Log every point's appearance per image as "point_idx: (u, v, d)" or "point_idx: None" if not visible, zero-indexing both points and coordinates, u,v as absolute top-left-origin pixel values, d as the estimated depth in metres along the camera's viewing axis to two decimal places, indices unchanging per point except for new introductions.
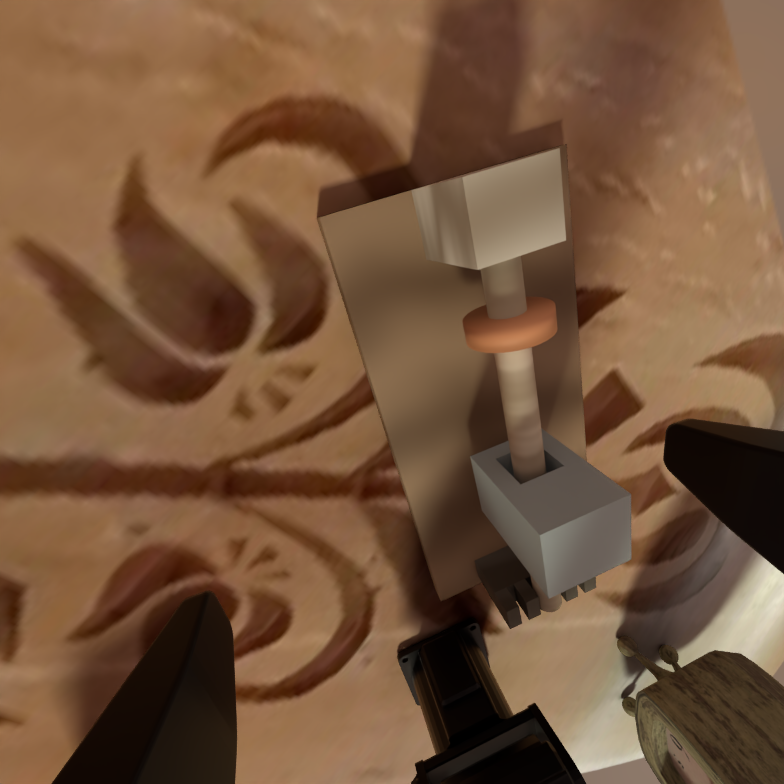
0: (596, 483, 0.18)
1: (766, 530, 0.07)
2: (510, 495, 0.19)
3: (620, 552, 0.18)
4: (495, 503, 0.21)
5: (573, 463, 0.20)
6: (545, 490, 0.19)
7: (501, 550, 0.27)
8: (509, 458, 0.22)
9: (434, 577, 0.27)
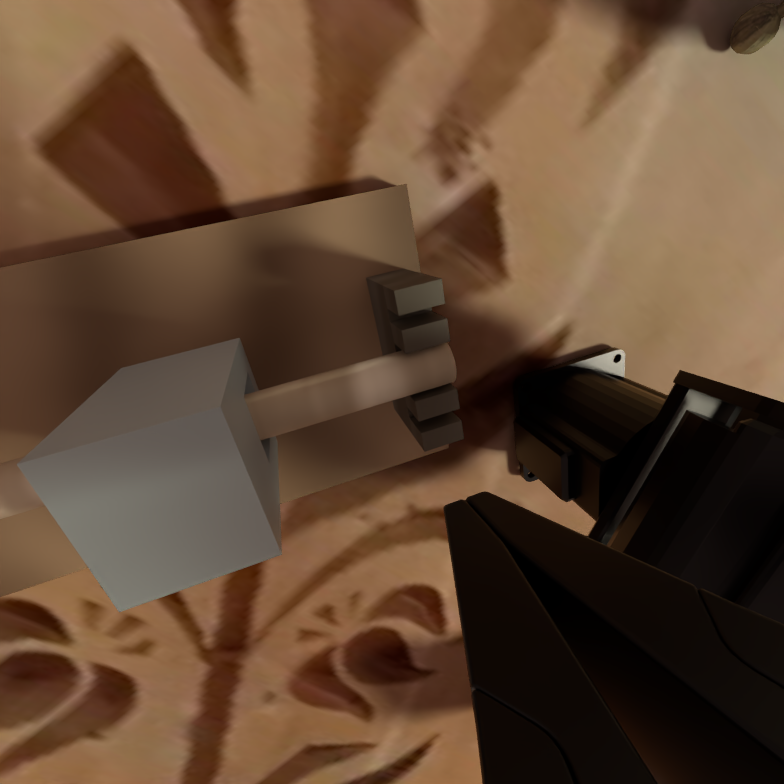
0: None
1: None
2: None
3: (191, 440, 0.09)
4: None
5: None
6: None
7: None
8: None
9: (403, 461, 0.20)
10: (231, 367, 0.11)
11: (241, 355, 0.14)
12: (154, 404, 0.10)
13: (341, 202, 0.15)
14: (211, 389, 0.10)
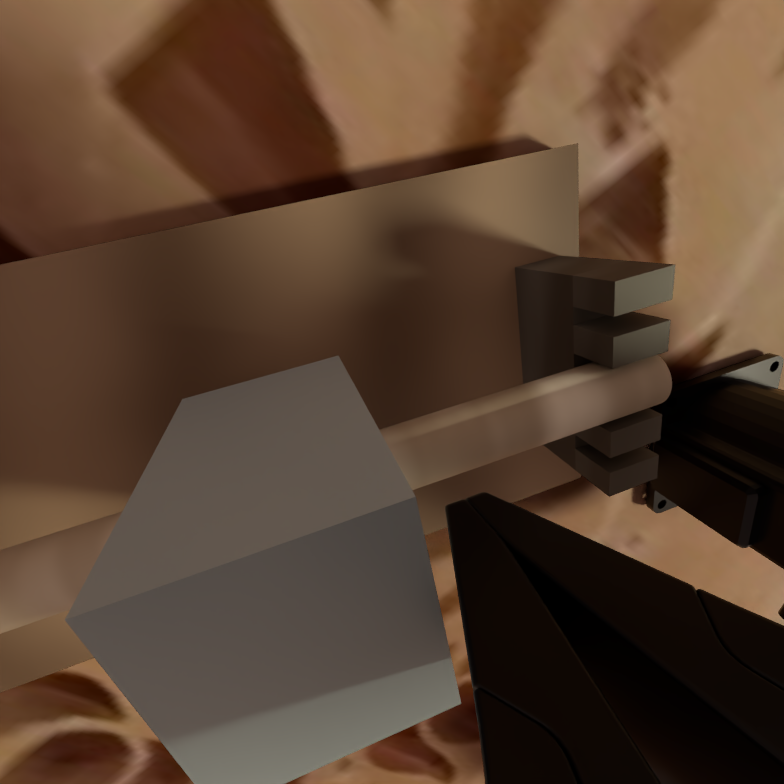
0: None
1: None
2: None
3: (362, 554, 0.05)
4: None
5: None
6: None
7: None
8: None
9: (529, 494, 0.16)
10: (365, 407, 0.08)
11: None
12: (277, 480, 0.06)
13: (497, 167, 0.11)
14: (365, 452, 0.06)
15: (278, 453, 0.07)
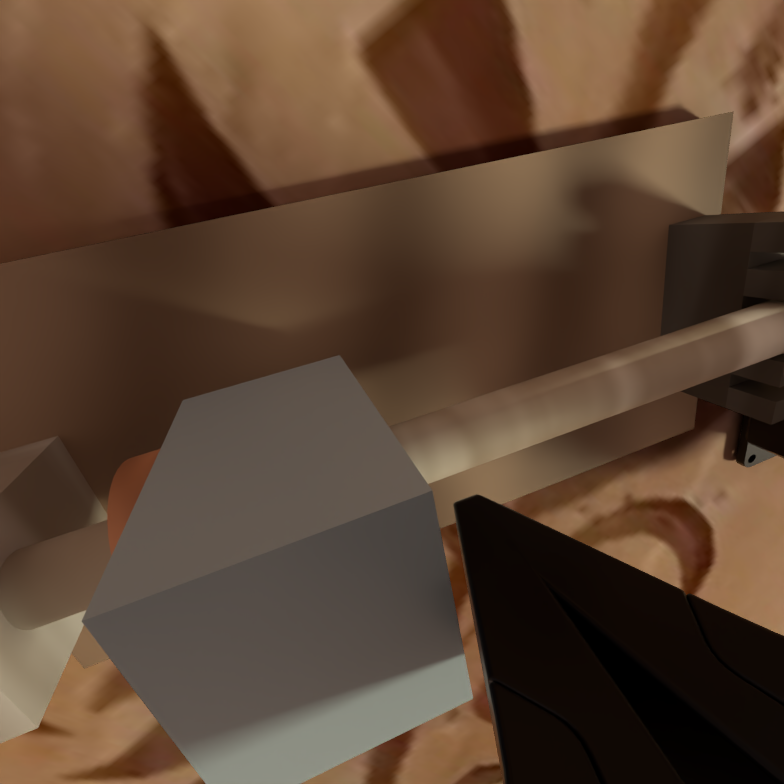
0: None
1: None
2: None
3: (380, 549, 0.05)
4: None
5: None
6: None
7: None
8: None
9: (650, 444, 0.18)
10: (372, 404, 0.08)
11: None
12: (291, 478, 0.06)
13: (668, 131, 0.13)
14: (376, 448, 0.06)
15: (288, 451, 0.07)
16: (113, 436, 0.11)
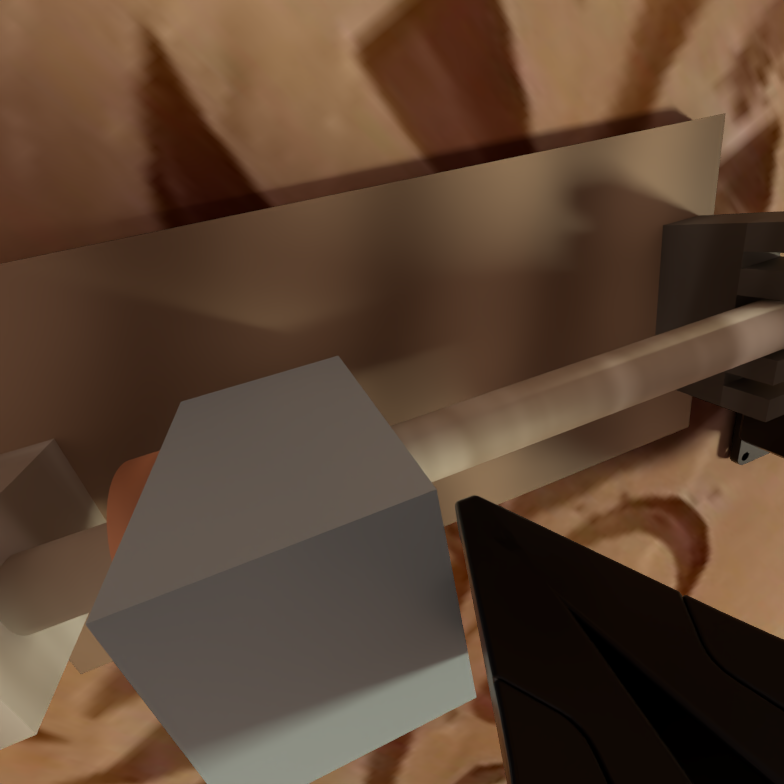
0: None
1: None
2: None
3: (384, 548, 0.05)
4: None
5: None
6: None
7: None
8: None
9: (646, 442, 0.18)
10: (373, 404, 0.08)
11: None
12: (293, 478, 0.06)
13: (661, 133, 0.13)
14: (379, 448, 0.06)
15: (289, 452, 0.07)
16: (110, 438, 0.11)
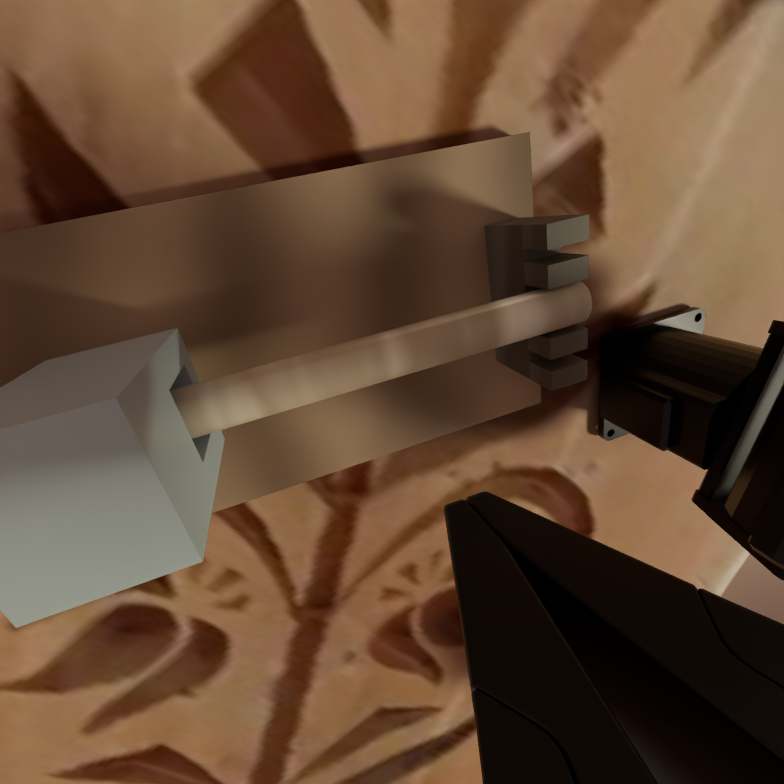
0: None
1: None
2: None
3: (85, 435, 0.08)
4: None
5: None
6: None
7: None
8: None
9: (499, 415, 0.20)
10: (152, 357, 0.10)
11: (176, 346, 0.13)
12: (53, 397, 0.09)
13: (469, 148, 0.15)
14: (118, 380, 0.09)
15: (69, 385, 0.09)
16: None
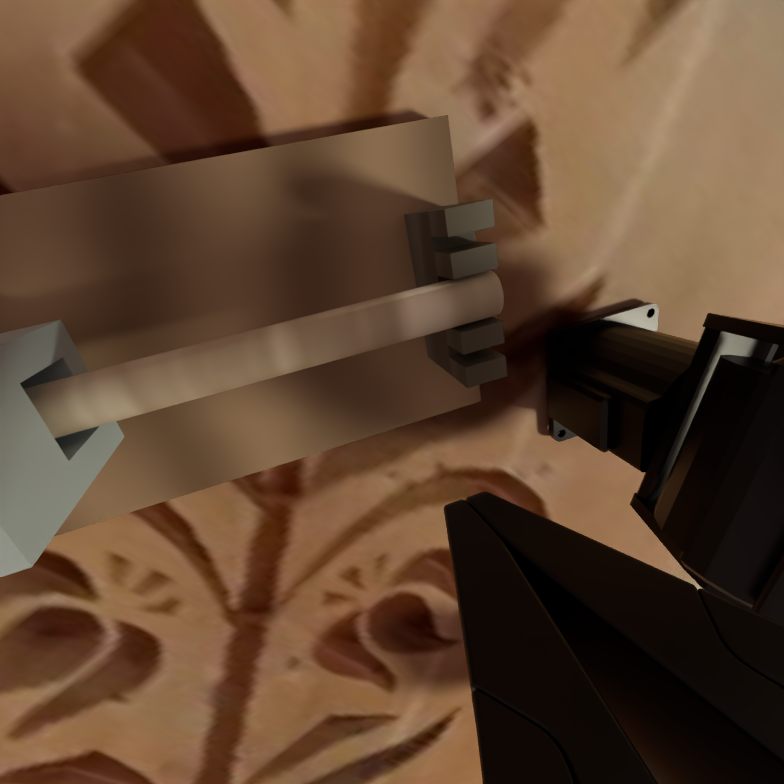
0: None
1: None
2: None
3: None
4: None
5: None
6: None
7: None
8: None
9: (435, 414, 0.20)
10: None
11: (52, 338, 0.12)
12: None
13: (382, 132, 0.15)
14: None
15: None
16: None
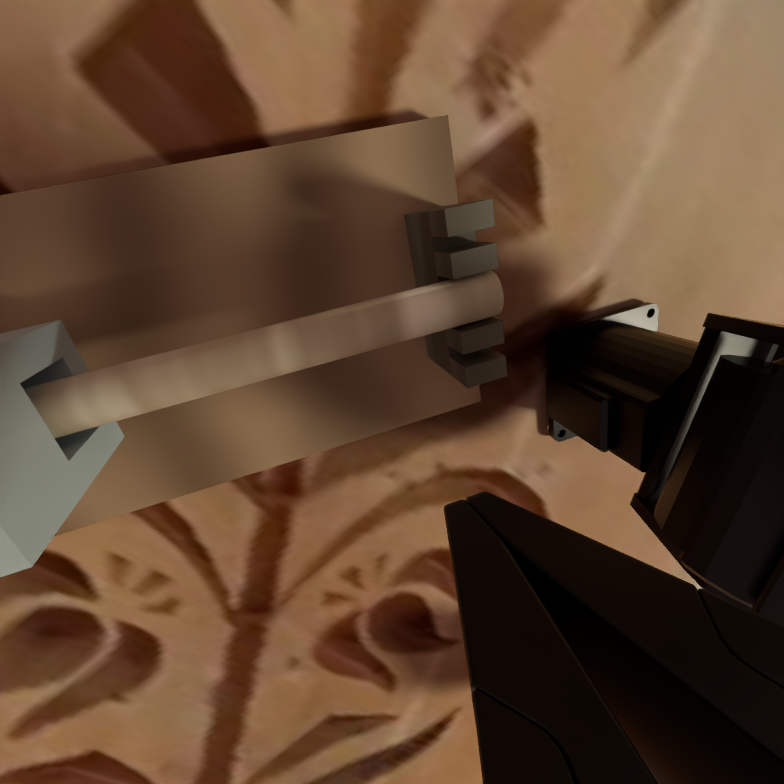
0: None
1: None
2: None
3: None
4: None
5: None
6: None
7: None
8: None
9: (435, 414, 0.20)
10: None
11: (52, 338, 0.12)
12: None
13: (382, 132, 0.15)
14: None
15: None
16: None
